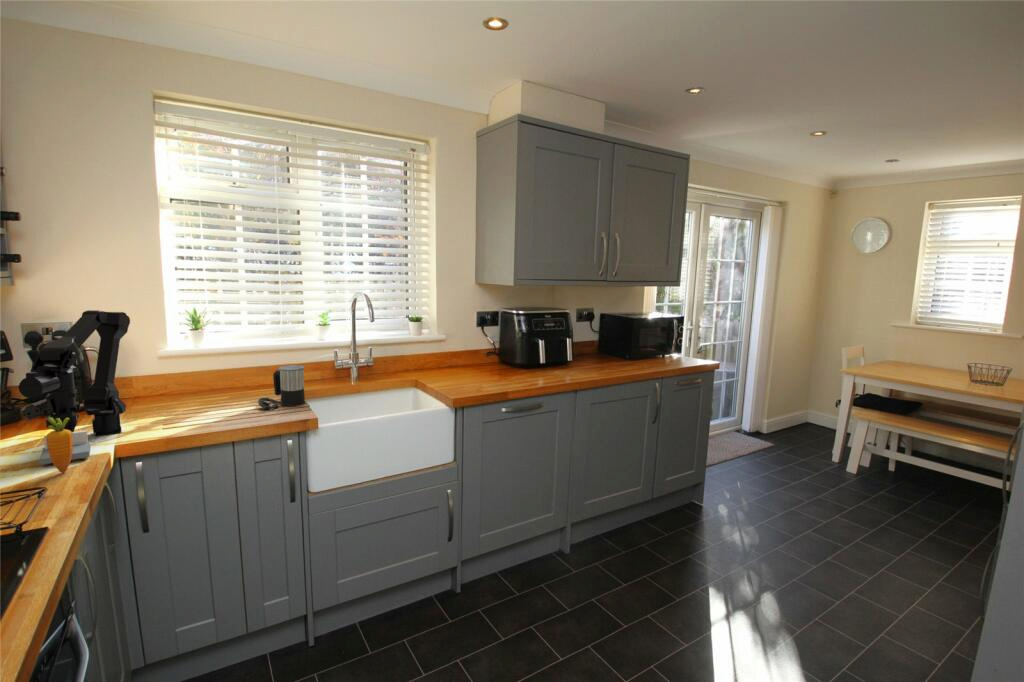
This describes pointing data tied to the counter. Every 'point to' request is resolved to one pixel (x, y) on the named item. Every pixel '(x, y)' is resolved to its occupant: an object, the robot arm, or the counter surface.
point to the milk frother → (287, 387)
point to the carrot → (60, 444)
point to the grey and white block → (79, 448)
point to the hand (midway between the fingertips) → (67, 442)
